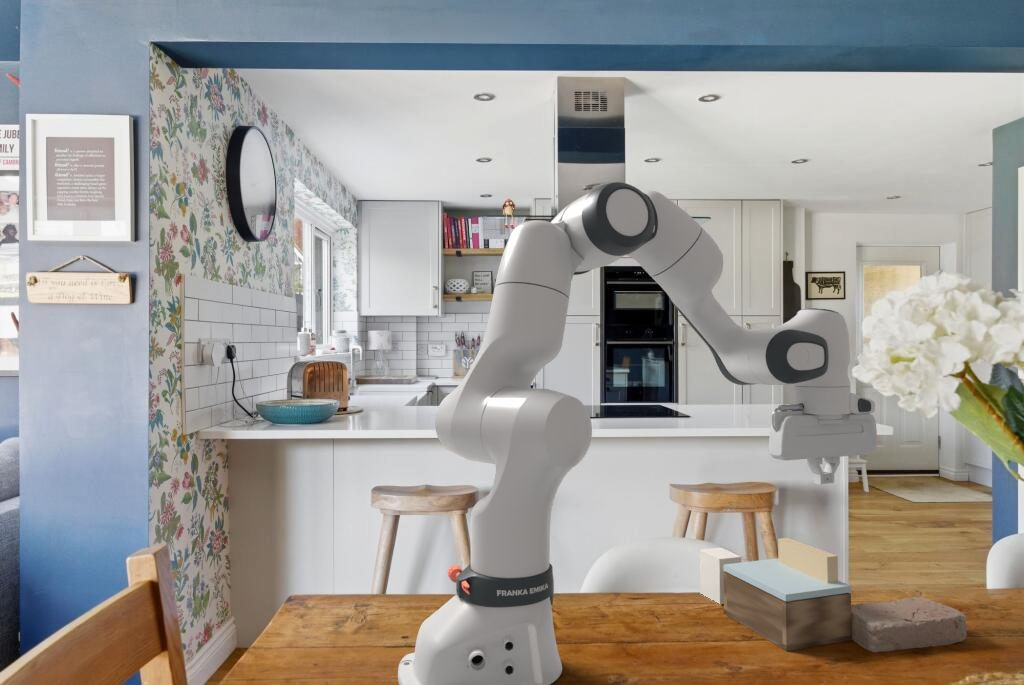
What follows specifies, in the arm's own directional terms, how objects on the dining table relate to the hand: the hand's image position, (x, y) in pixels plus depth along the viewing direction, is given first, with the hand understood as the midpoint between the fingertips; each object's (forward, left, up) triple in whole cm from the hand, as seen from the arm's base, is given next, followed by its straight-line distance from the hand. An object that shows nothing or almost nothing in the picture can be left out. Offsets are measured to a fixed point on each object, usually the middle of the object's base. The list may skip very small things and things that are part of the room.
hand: (823, 483), depth 114 cm
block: (-14, +10, -21) cm, 27 cm away
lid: (-12, -4, -14) cm, 19 cm away
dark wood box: (-12, -4, -21) cm, 25 cm away
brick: (+2, -13, -22) cm, 26 cm away
